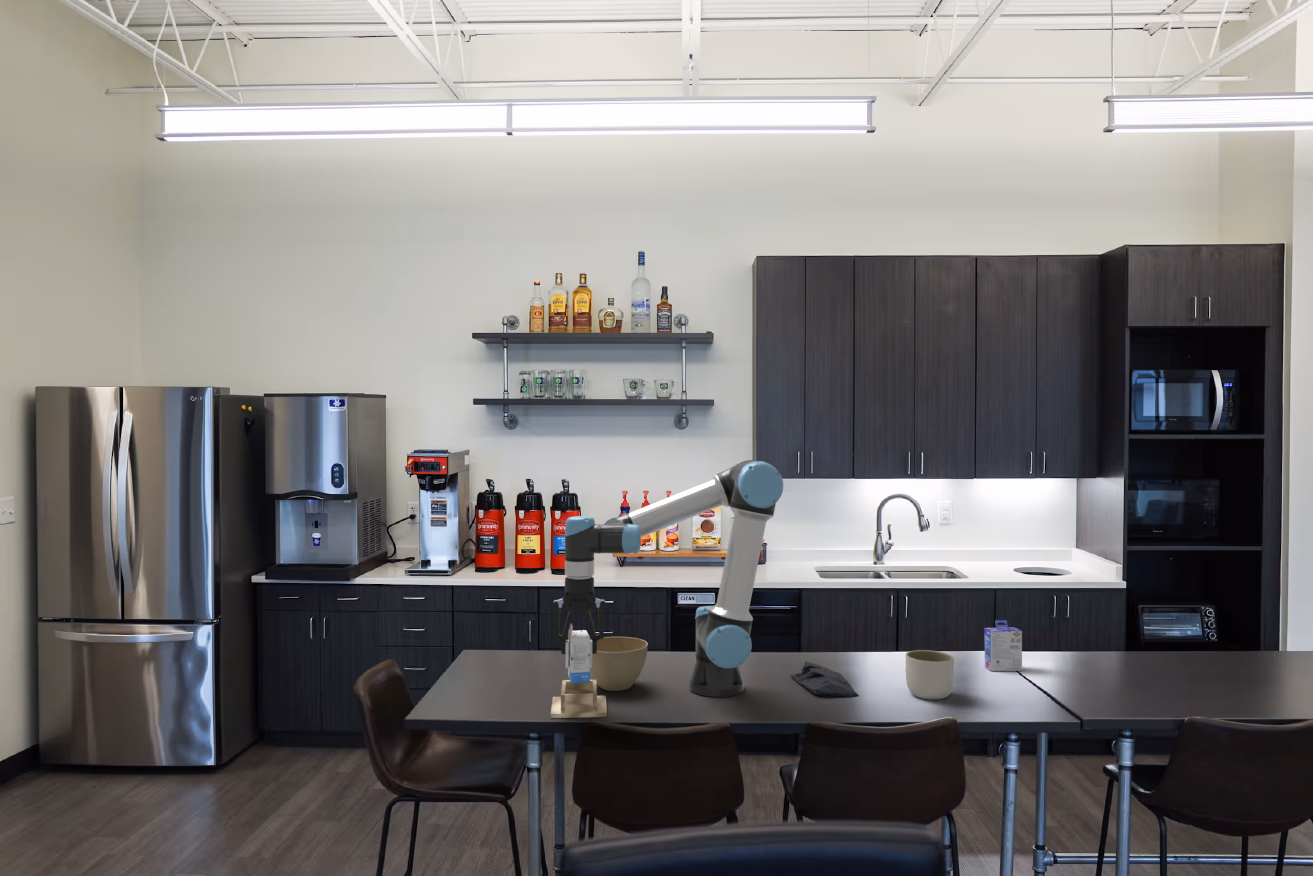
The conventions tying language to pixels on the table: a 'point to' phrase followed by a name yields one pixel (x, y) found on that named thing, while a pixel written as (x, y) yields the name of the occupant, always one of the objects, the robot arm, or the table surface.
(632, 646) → the flower pot
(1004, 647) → the ink cartridge box
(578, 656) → the ink box
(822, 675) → the dark slate chunk
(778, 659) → the table surface
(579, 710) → the frame
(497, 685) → the table surface
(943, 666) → the planter
